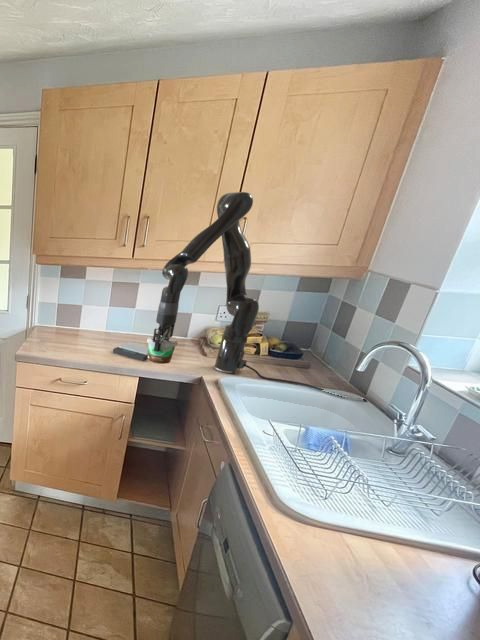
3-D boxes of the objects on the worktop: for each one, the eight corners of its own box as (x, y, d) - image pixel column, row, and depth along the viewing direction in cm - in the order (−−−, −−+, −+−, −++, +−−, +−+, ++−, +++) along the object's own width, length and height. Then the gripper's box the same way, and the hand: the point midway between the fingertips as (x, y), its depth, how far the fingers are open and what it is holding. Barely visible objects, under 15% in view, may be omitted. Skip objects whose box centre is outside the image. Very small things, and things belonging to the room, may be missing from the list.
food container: (142, 362, 183) (146, 340, 179) (144, 357, 188) (147, 336, 184) (173, 366, 178) (177, 344, 173) (173, 361, 182) (178, 340, 178)
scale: (158, 353, 206) (159, 348, 205) (142, 361, 196) (144, 355, 195) (129, 346, 217) (129, 341, 216) (112, 352, 207) (113, 347, 206)
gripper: (168, 316, 167) (161, 355, 173) (184, 310, 175) (176, 347, 182) (150, 313, 172) (144, 351, 179) (166, 307, 181) (159, 343, 187)
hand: (160, 349), depth 180 cm, fingers closed on food container, 7 cm apart
